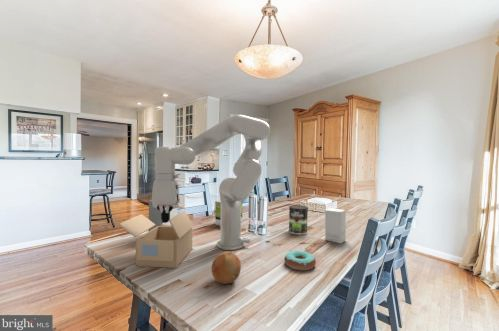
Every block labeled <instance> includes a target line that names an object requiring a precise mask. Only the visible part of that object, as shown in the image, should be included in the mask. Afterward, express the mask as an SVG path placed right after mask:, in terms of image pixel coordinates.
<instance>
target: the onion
mask: <svg viewBox="0 0 499 331" xmlns="http://www.w3.org/2000/svg"><path fill="white" fill-rule="evenodd" d="M241 268H242V265H241V260H240V259H239V257H238V255H237V254H235V253H234V252H232V251H231V250H225V251H223V252H222V253H219V254H218V255H216V256H215V258H214V259H213V261H212V263H211V274H212V277H213V278H214V280H215V281H216V282H218V283H219V284H223V285H229V284H231V283H234V282H235V281H237V279H238V278H239V276H240V274H241V270H242V269H241Z"/></svg>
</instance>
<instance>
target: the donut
mask: <svg viewBox="0 0 499 331" xmlns="http://www.w3.org/2000/svg"><path fill="white" fill-rule="evenodd" d="M283 261H284V262H285V263H284V264H285V265H286V266H287V267H289V268H290V269H293V270H297V271H309V270H312V269H314V267H315V266H316V263H317V262H316V258H315V256H314V255H313V254H311V253H310V252H307V251H303V250H291V251H288V252H287V253H286V254H285V255H284V259H283Z"/></svg>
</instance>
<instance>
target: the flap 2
mask: <svg viewBox="0 0 499 331" xmlns="http://www.w3.org/2000/svg"><path fill="white" fill-rule="evenodd" d="M169 222H170V224H171V225H172V227H173V229H174V231H175V233H176V234H177V236H178V238H179V239H180V238H181V237H182V236H183V235H184V234H185V233H187V232H188V231H189V230H190V229H191V228H192V229H193V228H194V224H193V223H192V221H191V218H190V217H189V214H188V213H187V212H186V210H182V211H181V212H180V213H177V215H176V216H175V217H173V218H171V219H170V220H169Z"/></svg>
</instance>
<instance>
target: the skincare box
mask: <svg viewBox="0 0 499 331" xmlns="http://www.w3.org/2000/svg"><path fill="white" fill-rule="evenodd" d="M324 222H325V223H324V226H325V227H324V229H325V232H324V234H325V239H324V240H325V241H328V242H332V243H336V244H337V243H338V244H342V243H344V242H345V241H346V239H347V237H346V235H347V234H346V230H347V229H346V209H339V208H332V207H329V208H327V209H324Z"/></svg>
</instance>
